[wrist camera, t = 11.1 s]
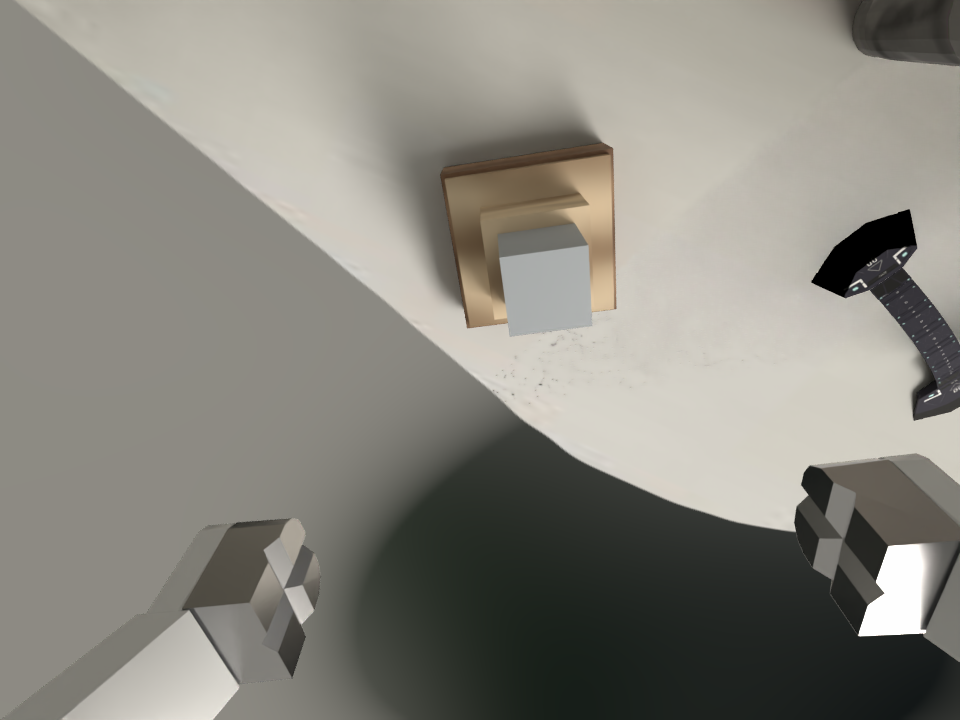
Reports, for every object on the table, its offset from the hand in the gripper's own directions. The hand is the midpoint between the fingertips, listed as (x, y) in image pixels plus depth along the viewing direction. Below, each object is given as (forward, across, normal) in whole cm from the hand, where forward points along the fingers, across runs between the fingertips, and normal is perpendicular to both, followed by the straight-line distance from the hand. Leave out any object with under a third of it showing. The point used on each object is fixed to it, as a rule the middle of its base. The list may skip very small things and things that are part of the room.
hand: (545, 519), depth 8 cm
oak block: (+31, -2, +5) cm, 31 cm away
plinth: (+35, -2, +5) cm, 35 cm away
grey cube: (+27, -2, +5) cm, 27 cm away
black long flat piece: (+36, -34, +18) cm, 53 cm away
